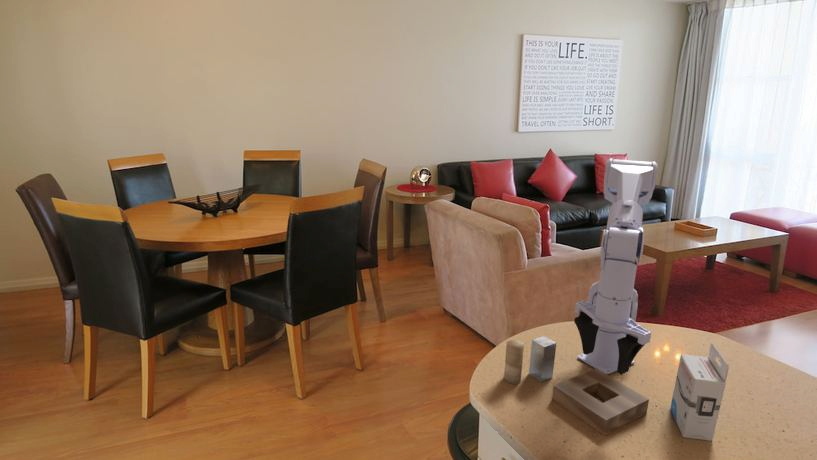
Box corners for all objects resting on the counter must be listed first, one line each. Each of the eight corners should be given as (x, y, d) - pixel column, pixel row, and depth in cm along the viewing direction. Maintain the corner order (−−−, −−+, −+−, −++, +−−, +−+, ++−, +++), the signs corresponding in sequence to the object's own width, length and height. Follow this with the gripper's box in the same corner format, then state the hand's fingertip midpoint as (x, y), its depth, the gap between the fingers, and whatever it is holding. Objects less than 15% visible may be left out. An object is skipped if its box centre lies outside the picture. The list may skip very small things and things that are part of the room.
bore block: (593, 381, 106) (595, 368, 105) (646, 413, 96) (649, 399, 95) (552, 399, 100) (553, 385, 99) (604, 435, 90) (606, 420, 89)
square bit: (540, 369, 110) (544, 335, 107) (552, 377, 107) (556, 342, 105) (528, 374, 108) (532, 339, 106) (540, 382, 105) (544, 347, 103)
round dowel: (512, 372, 108) (515, 338, 106) (524, 380, 105) (527, 345, 103) (500, 377, 107) (503, 342, 104) (511, 385, 104) (514, 350, 101)
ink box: (669, 408, 98) (682, 338, 93) (697, 412, 97) (712, 341, 92) (682, 438, 90) (698, 362, 85) (713, 442, 89) (730, 366, 84)
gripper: (567, 284, 95) (559, 349, 99) (636, 314, 83) (624, 388, 87) (592, 277, 99) (584, 340, 103) (663, 305, 87) (650, 376, 91)
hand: (604, 362), depth 95 cm, fingers open, 7 cm apart
